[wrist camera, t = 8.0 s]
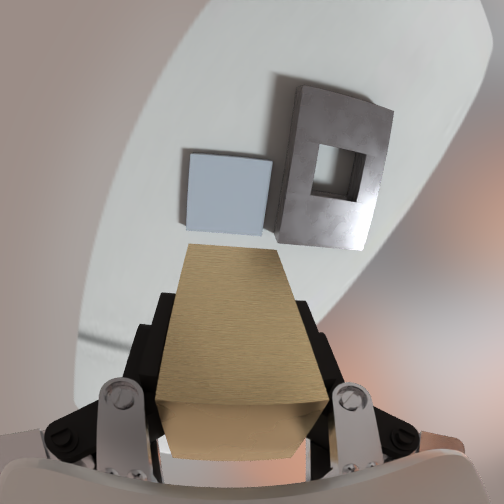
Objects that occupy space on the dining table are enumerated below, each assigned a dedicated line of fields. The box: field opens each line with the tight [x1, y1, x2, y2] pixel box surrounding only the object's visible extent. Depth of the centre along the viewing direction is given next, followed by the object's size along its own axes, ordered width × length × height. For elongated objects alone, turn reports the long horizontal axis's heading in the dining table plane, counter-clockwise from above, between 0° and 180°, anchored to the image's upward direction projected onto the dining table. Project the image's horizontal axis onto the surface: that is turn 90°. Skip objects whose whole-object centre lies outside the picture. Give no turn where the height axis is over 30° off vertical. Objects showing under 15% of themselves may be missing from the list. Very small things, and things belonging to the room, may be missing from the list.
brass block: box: [155, 244, 329, 461], centre depth 10 cm, size 4×4×8 cm
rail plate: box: [274, 85, 394, 251], centre depth 27 cm, size 16×10×2 cm, turn 173°
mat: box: [186, 153, 273, 236], centre depth 28 cm, size 8×8×1 cm
